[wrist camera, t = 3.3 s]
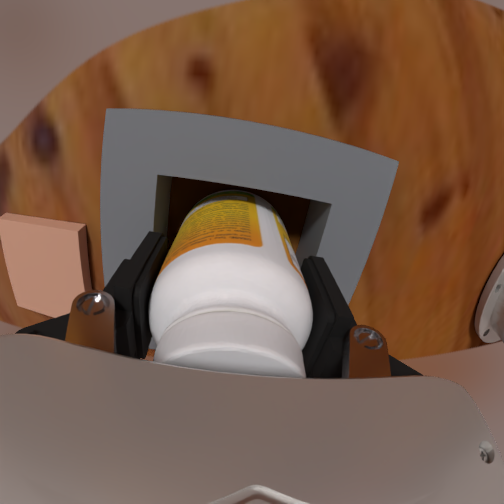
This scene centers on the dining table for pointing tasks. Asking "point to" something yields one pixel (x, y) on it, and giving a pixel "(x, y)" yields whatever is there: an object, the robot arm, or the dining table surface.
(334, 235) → the frame
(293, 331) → the supplement bottle
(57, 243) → the mat
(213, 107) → the dining table surface
